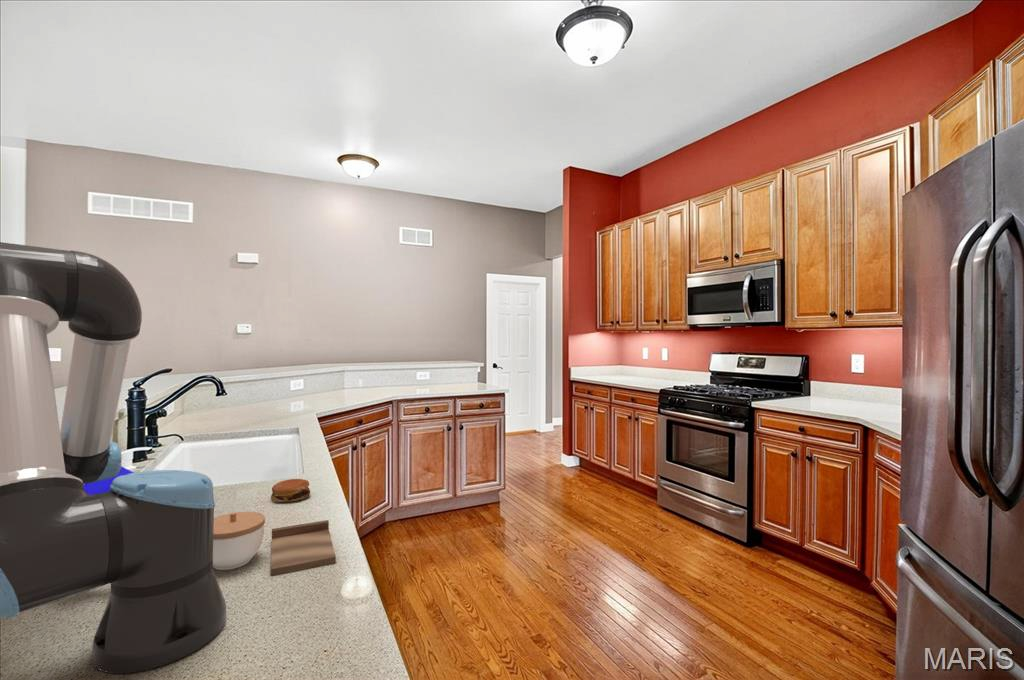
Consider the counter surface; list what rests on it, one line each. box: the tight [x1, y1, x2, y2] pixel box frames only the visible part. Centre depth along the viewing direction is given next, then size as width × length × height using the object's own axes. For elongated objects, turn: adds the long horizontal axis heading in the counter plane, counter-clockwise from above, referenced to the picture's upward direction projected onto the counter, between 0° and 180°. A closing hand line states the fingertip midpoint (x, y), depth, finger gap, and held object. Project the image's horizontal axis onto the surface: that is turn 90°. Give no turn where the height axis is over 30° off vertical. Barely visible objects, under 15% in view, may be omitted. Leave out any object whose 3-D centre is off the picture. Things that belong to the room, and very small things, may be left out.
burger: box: [270, 478, 311, 503], centre depth 122 cm, size 10×9×5 cm
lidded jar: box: [213, 511, 266, 571], centre depth 87 cm, size 11×11×9 cm
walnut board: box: [270, 519, 337, 577], centre depth 91 cm, size 15×11×3 cm
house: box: [83, 465, 135, 495], centre depth 108 cm, size 12×20×12 cm, turn 55°
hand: (176, 528), depth 85 cm, fingers open, 13 cm apart
